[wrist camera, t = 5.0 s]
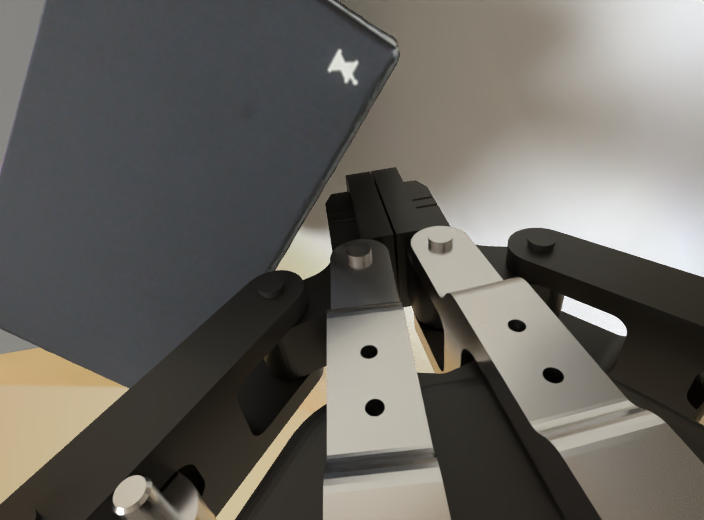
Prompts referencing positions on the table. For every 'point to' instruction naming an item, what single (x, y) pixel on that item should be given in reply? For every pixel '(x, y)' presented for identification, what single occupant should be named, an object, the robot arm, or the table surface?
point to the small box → (169, 163)
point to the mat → (14, 90)
